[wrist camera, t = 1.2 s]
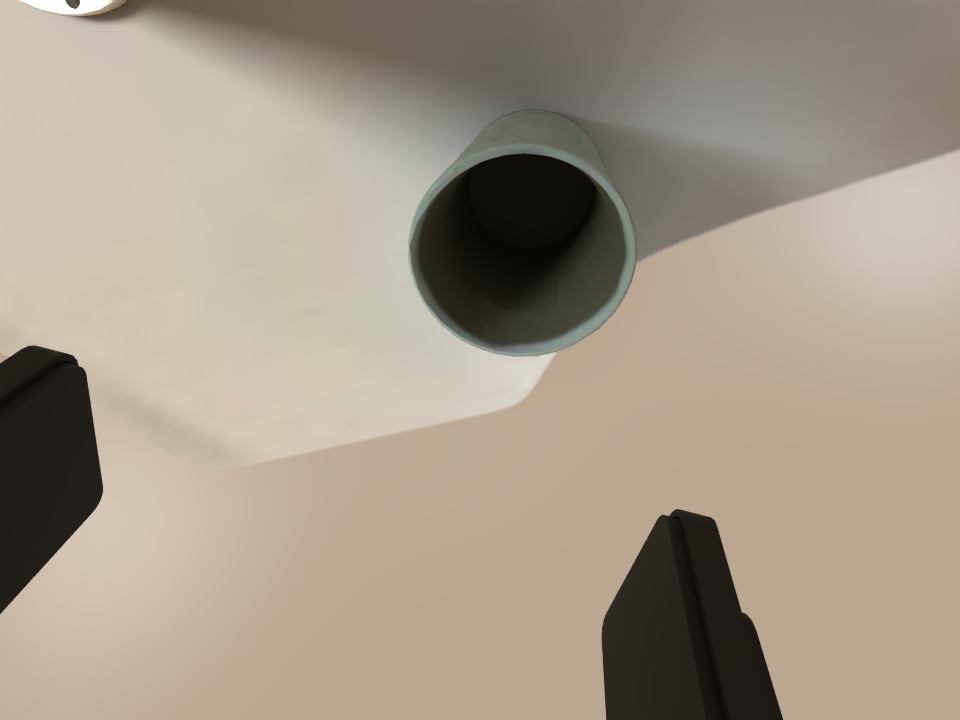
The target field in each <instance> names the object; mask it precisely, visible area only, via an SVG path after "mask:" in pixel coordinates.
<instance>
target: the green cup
mask: <svg viewBox="0 0 960 720" xmlns="http://www.w3.org/2000/svg"><path fill="white" fill-rule="evenodd" d="M636 255H637V241H636V233H635V228H634V224H633V220H632V217H631V214H630V212H629V209H628V207H627V205H626V203H625V201H624V199H623V197H622V196H621V194H620V192H619V191H618V189H617V188H616V186H615V185H614V183H613V181H612V179H611V177H610V176H609V174H608V171H607V169H606V168H605V166H604V164H603V162H602V160H601V158H600V156H599V153H598V151H597V149H596V147H595V145H594V144H593V142H592V141H591V139H590V138H589V137H588V135H587V134H586V133H585V132H584V131H583V130H582V129H581V128H580V127H579V126H578V125H576V124H575V123H574V122H572V121H571V120H569V119H567V118H565V117H564V116H561V115H559V114H556V113H553V112H548V111H543V110H524V111H518V112H514V113H510V114H508V115H506V116H503V117H501V118H499V119H498V120H496V121H494V122H493V123H491V124H490V125H489V126H488V127H487V128H485V129H484V130H483V131H482V132H481V133H480V134H479V135H478V137H477V138H476V139H475V140H474V141H473V142H472V143H471V144H470V146H469V147H468V148H467V149H466V150H465V151H464V152H463V153H462V154H461V155H460V157H459V158H458V159H457V160H456V161H455V162H454V163H453V164H452V165H451V166H450V167H449V168H447V169H446V170H445V172H444V173H443V174H442V175H441V176H440V177H439V178H438V179H437V180H436V181H435V182H434V183H433V184H432V186H431V187H430V188H429V190H428V191H427V192H426V194H425V195H424V197H423V199H422V200H421V202H420V204H419V206H418V208H417V211H416V213H415V216H414V219H413V222H412V226H411V231H410V236H409V263H410V270H411V274H412V277H413V280H414V283H415V286H416V288H417V291H418V293H419V295H420V297H421V299H422V301H423V303H424V304H425V305H426V307H427V308H428V310H429V311H430V312H431V314H432V315H433V316H434V317H435V318H436V319H437V321H438V322H439V323H440V324H441V325H442V326H443V327H445V328H446V329H447V330H448V331H450V332H451V333H452V334H453V335H455V336H456V337H457V338H459V339H461V340H463V341H464V342H466V343H468V344H470V345H472V346H475V347H477V348H480V349H482V350H485V351H488V352H491V353H494V354H500V355H507V356H514V357H517V356H539V355H544V354H548V353H553V352H557V351H560V350H562V349H565V348H567V347H570V346H572V345H574V344H576V343H577V342H579V341H580V340H582V339H584V338H585V337H587V336H588V335H590V334H591V333H593V332H594V331H596V330H598V329H599V328H600V327H601V326H602V325H603V324H604V323H605V322H606V321H607V320H608V319H609V318H610V317H611V316H612V315H613V314H614V313H615V311H616V310H617V308H618V307H619V305H620V304H621V302H622V300H623V299H624V297H625V295H626V293H627V290H628V288H629V286H630V284H631V281H632V278H633V275H634V270H635V265H636Z"/></svg>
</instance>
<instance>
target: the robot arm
mask: <svg viewBox="0 0 960 720" xmlns="http://www.w3.org/2000/svg"><path fill="white" fill-rule="evenodd" d="M19 1H21V2H22V3H25V4H27V5H29V6H32V7H34V8H36V9H39V10H41V11H44V12H48V13H53V14H58V15H62V16H87V15H95V14H103V13H105V12H108V11H110V10H113V9H115V8H118V7H120V6H121V5H122V4H124V3H125V2H126V1H128V0H19ZM102 493H103V484H102V477H101V471H100V464H99V457H98V450H97V443H96V437H95V430H94V423H93V416H92V410H91V403H90V396H89V389H88V383H87V376H86V372H85V370H84V369H83V368H82V367H79V365H78V362H77V360H76V359H75V357H74V356H72V355H70V354H66V353H62V352H59V351H55V350H51V349H47V348H43V347H39V346H28V347H25V348H23V349H21V350H20V351H18V352H17V353H15V354H14V355H12V356H11V357H9V358H8V359H6V360H5V361H3V362H2V363H0V614H1V613H2V612H3V610H4V609H5V608H6V607H7V606H8V605H9V604H10V603H11V602H12V601H13V599H14V598H15V597H16V596H17V595H18V594H19V593H20V592H21V591H22V590H23V588H24V587H25V586H26V585H27V584H28V583H29V582H30V581H31V580H32V578H33V577H34V576H35V575H36V574H37V573H38V572H39V571H40V570H41V569H42V568H43V566H44V565H45V564H46V563H47V562H48V561H49V560H50V559H51V557H53V555H54V554H55V553H56V552H57V551H58V550H59V549H60V548H61V547H62V546H63V544H64V543H65V542H66V541H67V540H68V539H69V538H70V537H71V536H72V535H73V533H74V532H75V531H76V530H77V529H78V528H79V527H80V526H81V524H83V522H84V521H85V520H86V519H87V518H88V517H89V516H90V515H91V514H92V512H93V511H94V510H95V509H96V507H97V506H98V504H99V502H100V500H101V497H102ZM602 650H603V651H602V652H603V670H604V687H605V704H606V720H783V718H782V714H781V711H780V708H779V705H778V701H777V698H776V695H775V691H774V688H773V684H772V681H771V678H770V675H769V671H768V668H767V664H766V661H765V658H764V654H763V651H762V648H761V644H760V641H759V638H758V634H757V632H756V629H755V627H754V624H753V622H752V620H751V619H750V618H749V617H748V616H747V615H746V614H744V613H742V612H741V608H740V605H739V601H738V598H737V594H736V591H735V588H734V584H733V580H732V577H731V573H730V570H729V566H728V563H727V559H726V556H725V552H724V549H723V545H722V542H721V538H720V535H719V531H718V528H717V525H716V523H715V520H714V519H712V518H711V517H707V516H703V515H699V514H695V513H691V512H687V511H684V510H679V509H676V510H674V511H673V512H672V513H671V514H670V516H666V515H661V516H660V517H659V518H658V520H657V521H656V523H655V525H654V527H653V529H652V530H651V532H650V534H649V536H648V538H647V540H646V541H645V543H644V545H643V547H642V549H641V551H640V553H639V555H638V556H637V558H636V560H635V562H634V564H633V565H632V568H631V569H630V571H629V573H628V575H627V576H626V579H625V580H624V582H623V584H622V586H621V587H620V589H619V591H618V593H617V595H616V597H615V599H614V600H613V602H612V604H611V606H610V608H609V609H608V611H607V613H606V615H605V618H604V622H603V627H602Z"/></svg>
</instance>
